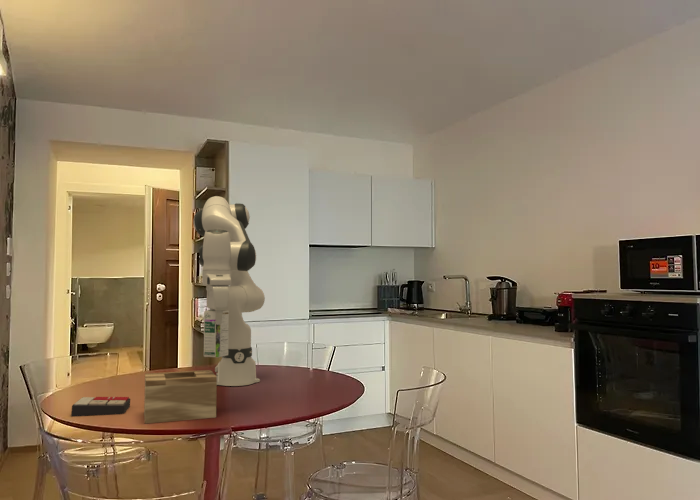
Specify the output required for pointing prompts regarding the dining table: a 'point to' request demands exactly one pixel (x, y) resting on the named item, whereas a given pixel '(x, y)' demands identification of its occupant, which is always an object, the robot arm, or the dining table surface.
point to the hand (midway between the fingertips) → (216, 323)
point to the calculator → (100, 406)
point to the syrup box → (215, 334)
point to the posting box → (179, 396)
